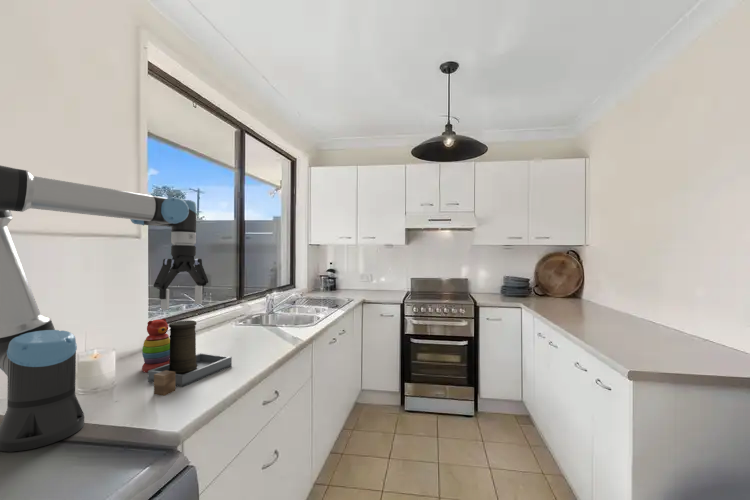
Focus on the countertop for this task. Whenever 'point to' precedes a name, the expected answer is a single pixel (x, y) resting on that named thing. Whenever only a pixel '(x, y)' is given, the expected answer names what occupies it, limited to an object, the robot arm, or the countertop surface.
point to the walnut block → (164, 383)
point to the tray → (205, 368)
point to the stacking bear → (156, 345)
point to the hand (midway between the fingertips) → (182, 306)
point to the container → (182, 347)
